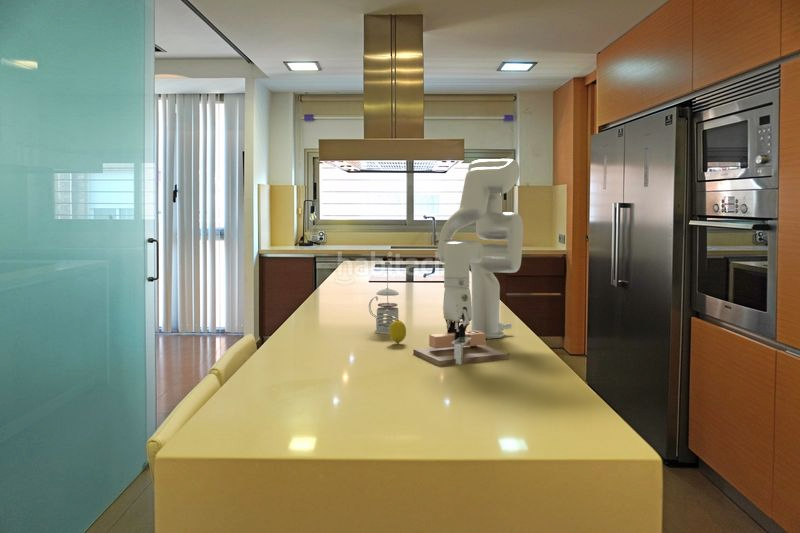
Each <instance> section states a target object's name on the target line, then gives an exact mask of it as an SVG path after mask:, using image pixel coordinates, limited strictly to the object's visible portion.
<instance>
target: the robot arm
mask: <svg viewBox="0 0 800 533" xmlns="http://www.w3.org/2000/svg"><path fill="white" fill-rule="evenodd" d="M467 169H468V170H467V173H466V175H465V178H464V184H463V189H462V193H461V199H460V206H459V208H458V210H456V211H455V212H454V213H453V214H452V215H451V216H450V217H448V219H447V220H446V222H445V223H444V224H443V226H442V228H441V231H440V234H439V239H438V243H437V258H438V260H439V261H440V262H441V263H442V264H443V263H444V264H443V265H444V267H443V269H444V271H443V272H444V273H443V275H444V276H443V278H444V279H443V281H444V282H443V284H444V285H443V288H444V292H443V304H442V305H443V307H442V310H443V311H442V313H443V319H444V320H445V323H446V329H447V332H446V333H455V340H456V339H457V338H459V337H465V332H466V331H467V328H468V326H469V325H470V324H471V327H470V330H468V331H480V332H483V333H485V340H487V339H489V340H490V339H491V340H492V339H499V338H503V337H504V335H505V333H504V332H503V331H505V330H511V329H512V323H511V322H510V323H503V322H500V303H501V302H500V300H501V299H500V295H501V294H500V292H501V286H500V285H501V284H500V282H499V280H498V278H497V277H496V276H495V274H494V273H507V274H509V273H510V274H512V273H517V272H518V271H519V270H520V268H521V265H522V255H523V253H522V252H523V236H524V223H523V219H522V217H521V215H520V214H518V213H516V212H507V211H505V212H503V197H502V195H501V194H507V193H508V192H509V191H511V189H512V188H513V187H514V186H515V185H516V184H517V182H518V181H519V178H520V173H521V172H520V171H521V170H520V165H519V163H518V161H517V160H515V159H513V158H500V159H498V158H496V159H495V158H494V159H491V158H490V159H488V158H487V159H477V160H474V161H471V162H470V163H469V165H468V167H467ZM473 223H475V233H476V236H477V237H478V238H479V239H481V240H484V241H505V242H507V244H505V243H504V244H503V243H502V244H499V243H498V244H497V243H481V242H480V241H478V240H472V239H471V240H470V239H468V240H467V239H453V238H454V235H455V234H456V233H457V232H458V231H459V230H460V229H462V228H464V227H466V226H468V225H472V224H473ZM470 272H471V273H470ZM470 274H471V289H470Z"/></svg>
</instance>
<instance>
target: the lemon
mask: <svg viewBox="0 0 800 533" xmlns="http://www.w3.org/2000/svg"><path fill="white" fill-rule="evenodd" d="M393 321H394V322H392V323H391V325H390V328H389V334H388V335H389V338H390V339H391V340H392V342H394V343H395V344H396V345H397V344H399V343H401V342H402V341H404V340H405V338H406V336H407V328H406V325H405V323H404V322H403V321H402V320H400V319H399V318H398V319H397V320H396V321H395V320H393Z"/></svg>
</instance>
